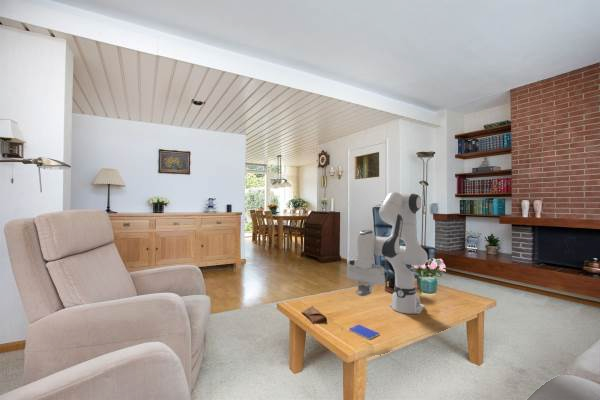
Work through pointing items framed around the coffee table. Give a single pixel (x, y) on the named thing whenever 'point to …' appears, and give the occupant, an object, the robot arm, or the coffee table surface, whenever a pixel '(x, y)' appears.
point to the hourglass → (392, 280)
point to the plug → (363, 290)
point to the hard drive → (364, 331)
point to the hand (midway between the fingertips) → (365, 290)
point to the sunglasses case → (314, 315)
